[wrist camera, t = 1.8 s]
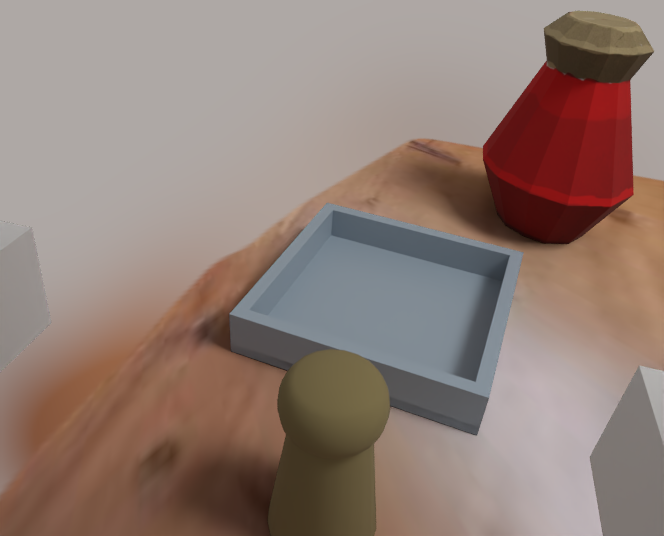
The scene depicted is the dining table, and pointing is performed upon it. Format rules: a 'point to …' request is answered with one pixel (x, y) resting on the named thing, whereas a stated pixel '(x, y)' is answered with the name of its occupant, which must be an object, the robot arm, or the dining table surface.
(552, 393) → the dining table surface
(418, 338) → the tray
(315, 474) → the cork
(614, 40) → the bottle
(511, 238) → the dining table surface
